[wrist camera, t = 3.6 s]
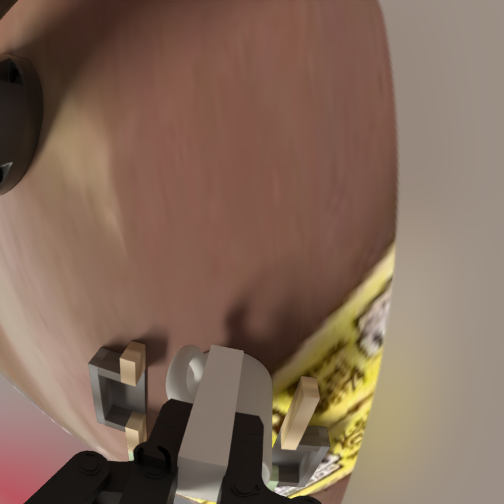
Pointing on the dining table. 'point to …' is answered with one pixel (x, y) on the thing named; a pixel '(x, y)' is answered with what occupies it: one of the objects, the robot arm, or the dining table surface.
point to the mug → (249, 393)
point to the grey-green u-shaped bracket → (134, 414)
